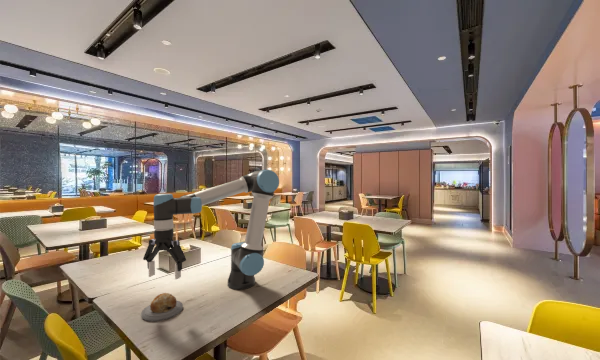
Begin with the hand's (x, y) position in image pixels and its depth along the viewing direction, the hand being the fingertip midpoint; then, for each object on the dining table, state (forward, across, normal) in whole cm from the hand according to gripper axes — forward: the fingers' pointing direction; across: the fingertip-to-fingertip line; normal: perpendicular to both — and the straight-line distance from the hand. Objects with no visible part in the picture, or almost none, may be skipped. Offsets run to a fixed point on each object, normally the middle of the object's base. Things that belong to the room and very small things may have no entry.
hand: (164, 276), depth 111 cm
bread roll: (+14, +1, +1) cm, 14 cm away
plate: (+15, +1, +1) cm, 15 cm away
